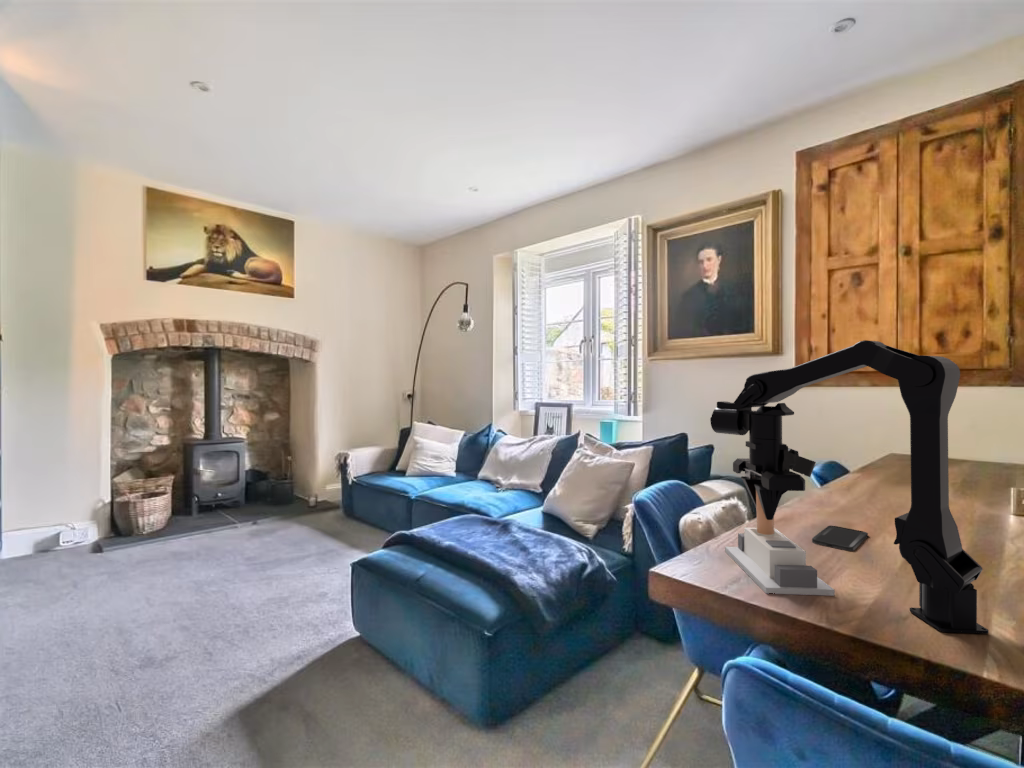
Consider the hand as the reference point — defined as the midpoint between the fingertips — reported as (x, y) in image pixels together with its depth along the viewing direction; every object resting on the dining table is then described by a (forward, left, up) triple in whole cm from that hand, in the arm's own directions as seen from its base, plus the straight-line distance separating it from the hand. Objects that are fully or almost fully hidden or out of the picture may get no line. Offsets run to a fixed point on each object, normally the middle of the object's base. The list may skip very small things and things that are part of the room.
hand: (765, 517), depth 94 cm
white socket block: (-3, 0, -8) cm, 9 cm away
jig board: (-3, 0, -9) cm, 10 cm away
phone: (+17, -23, -10) cm, 30 cm away
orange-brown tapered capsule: (0, 0, -3) cm, 3 cm away
